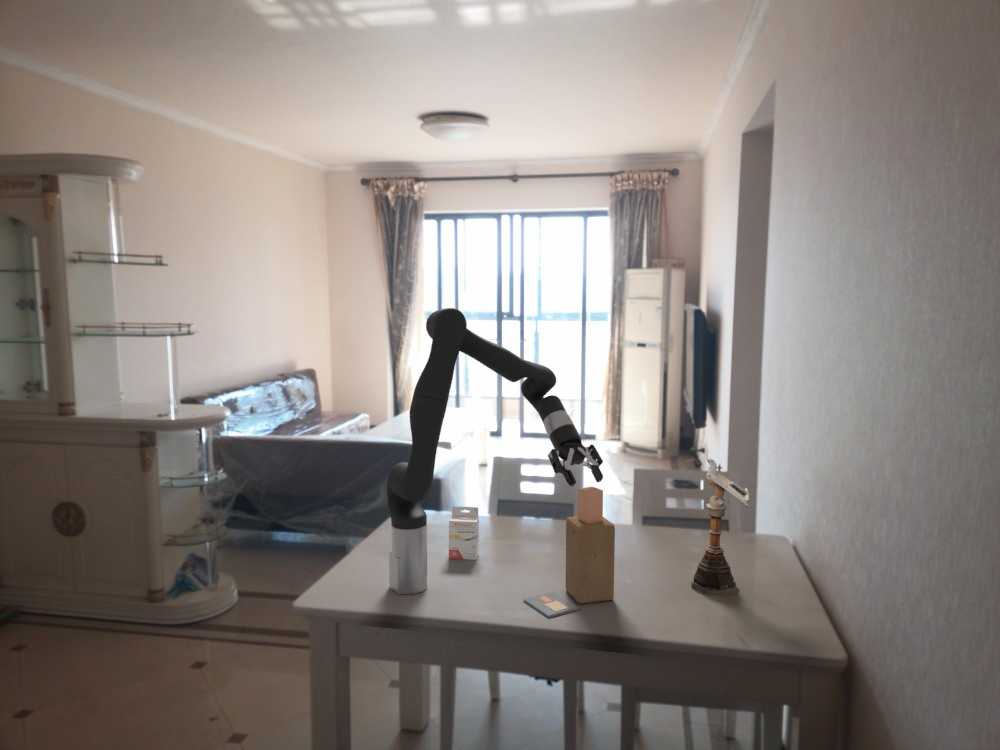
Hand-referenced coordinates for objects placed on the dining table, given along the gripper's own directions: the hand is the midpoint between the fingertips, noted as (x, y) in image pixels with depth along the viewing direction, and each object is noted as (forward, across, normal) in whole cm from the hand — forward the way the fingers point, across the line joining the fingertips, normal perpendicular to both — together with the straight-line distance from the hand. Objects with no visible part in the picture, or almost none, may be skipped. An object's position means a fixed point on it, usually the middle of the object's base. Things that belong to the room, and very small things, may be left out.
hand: (587, 482), depth 179 cm
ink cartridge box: (-7, -15, +49) cm, 52 cm away
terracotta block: (+8, 0, +6) cm, 10 cm away
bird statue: (+32, +34, +10) cm, 48 cm away
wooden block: (+22, 0, +20) cm, 30 cm away
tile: (+22, -12, +20) cm, 32 cm away
